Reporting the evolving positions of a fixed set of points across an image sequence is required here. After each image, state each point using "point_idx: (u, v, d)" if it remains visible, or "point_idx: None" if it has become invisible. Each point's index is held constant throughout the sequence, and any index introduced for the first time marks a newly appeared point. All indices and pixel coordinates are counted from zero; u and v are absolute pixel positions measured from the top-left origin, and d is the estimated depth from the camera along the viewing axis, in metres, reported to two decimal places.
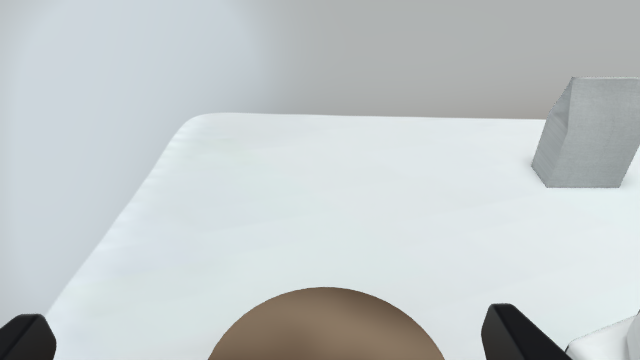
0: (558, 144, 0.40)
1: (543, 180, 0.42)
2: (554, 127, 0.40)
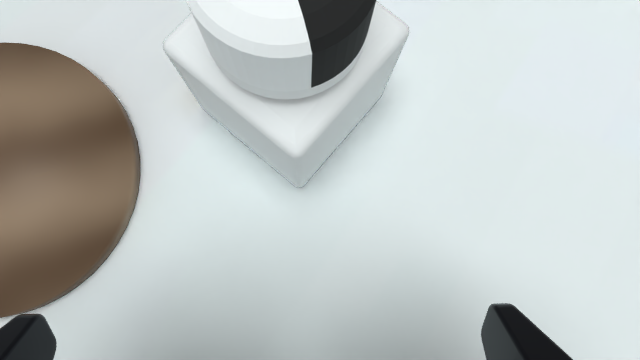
0: None
1: None
2: None
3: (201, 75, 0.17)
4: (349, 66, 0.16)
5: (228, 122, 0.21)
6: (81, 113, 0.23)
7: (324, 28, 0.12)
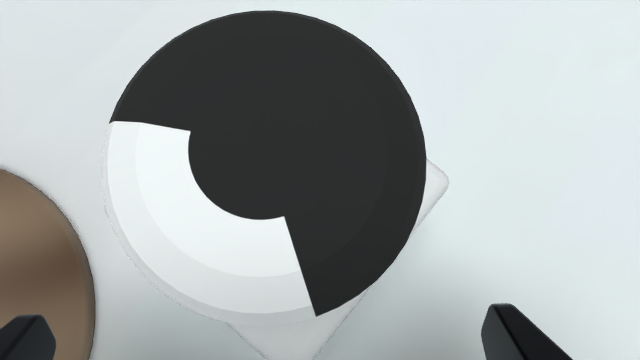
0: None
1: None
2: None
3: None
4: None
5: None
6: (18, 247, 0.18)
7: (336, 283, 0.08)
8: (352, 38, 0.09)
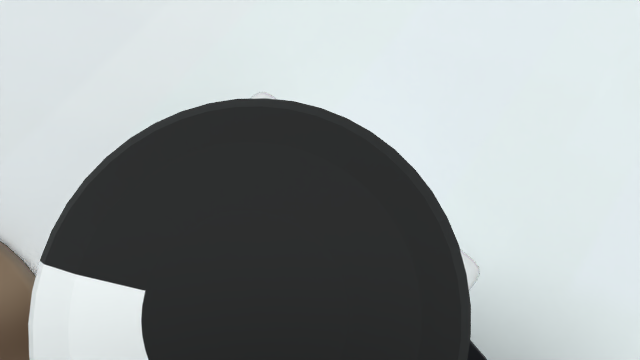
0: None
1: None
2: None
3: None
4: None
5: None
6: None
7: None
8: (370, 141, 0.06)
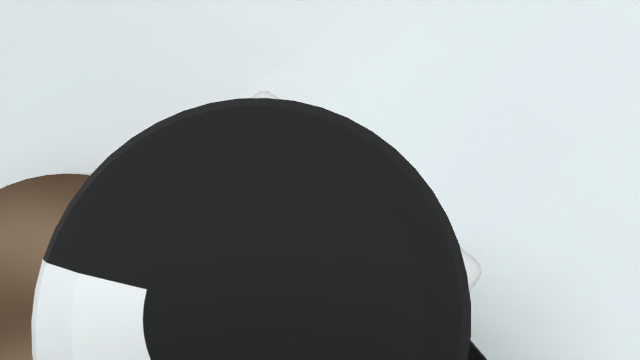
0: None
1: None
2: None
3: None
4: None
5: None
6: None
7: None
8: (370, 140, 0.06)
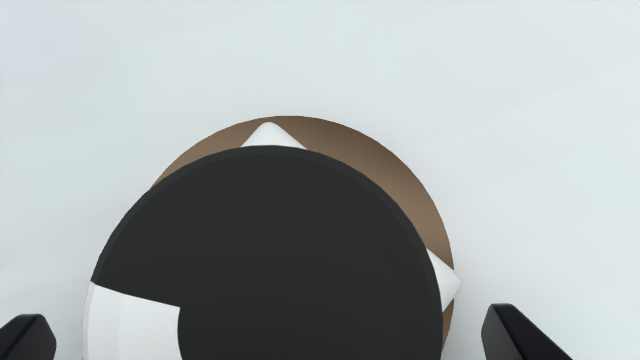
0: None
1: None
2: None
3: None
4: None
5: None
6: None
7: None
8: (361, 182, 0.08)
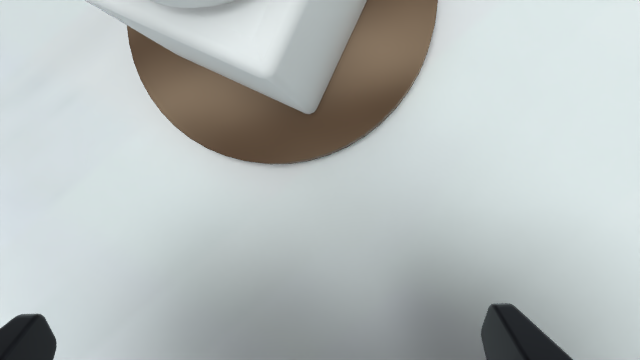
0: None
1: None
2: None
3: (121, 8, 0.13)
4: None
5: (199, 60, 0.17)
6: None
7: None
8: None
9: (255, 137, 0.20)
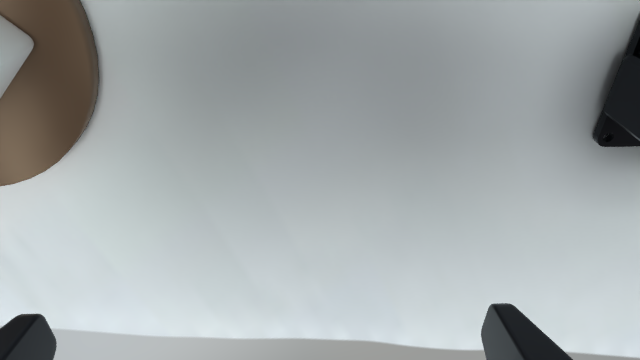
0: None
1: None
2: None
3: None
4: None
5: None
6: None
7: None
8: None
9: (60, 104, 0.19)
